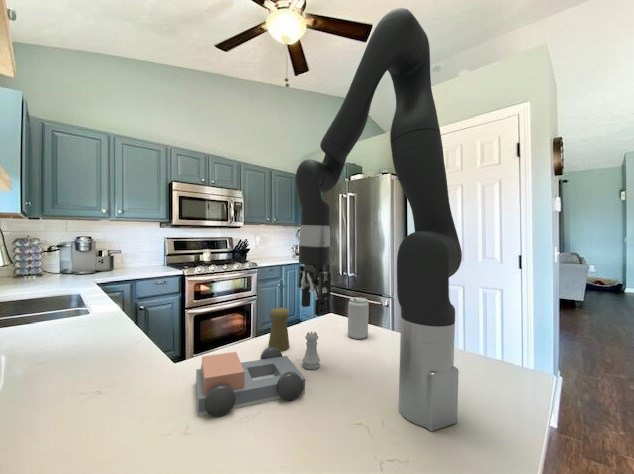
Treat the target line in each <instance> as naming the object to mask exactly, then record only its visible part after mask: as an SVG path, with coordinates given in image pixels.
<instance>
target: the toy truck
mask: <svg viewBox="0 0 634 474" xmlns="http://www.w3.org/2000/svg"><path fill="white" fill-rule="evenodd" d="M261 352H262V353H261V354H260V359H258V360H256V359H255V360H249V361H243V362H241V360H240V357H239V355H238V352H237V351H233V352H225V353H219V354H218V353H217V354H209V355H202V356H201V366H200V368H198V369H195V370H196V373H195V374H196V375H195V387H196V389H195V390H196V401H197V403H196V404H197V416H198V417H201V416H206V415H209V416H211V417H212V418H221V417H225V416H226V415H227V414H229V413H230V412H231V411H232V410H234V409H235V410H236V409H239V408H243V407H249V406H252V405H257V404H263V403H266V402H271V401H276V400H280V399H281V400H283V401H285V402H287V403H289V402H294V401H295V400H297V399H299V398H300V396H301V395H305V394H306V378H305V376H304V375H303V373H301V371H300V370H299V369H298V368H297V366H296V365H295V364H294V363H293V362H292V360H291V359H290V358H289V357H288V355H283V354H282V353H283V352H280V351H279V350H278V349H277V348H276V347H269V348H268V347H267V348H264V350H263V351H261Z"/></svg>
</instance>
